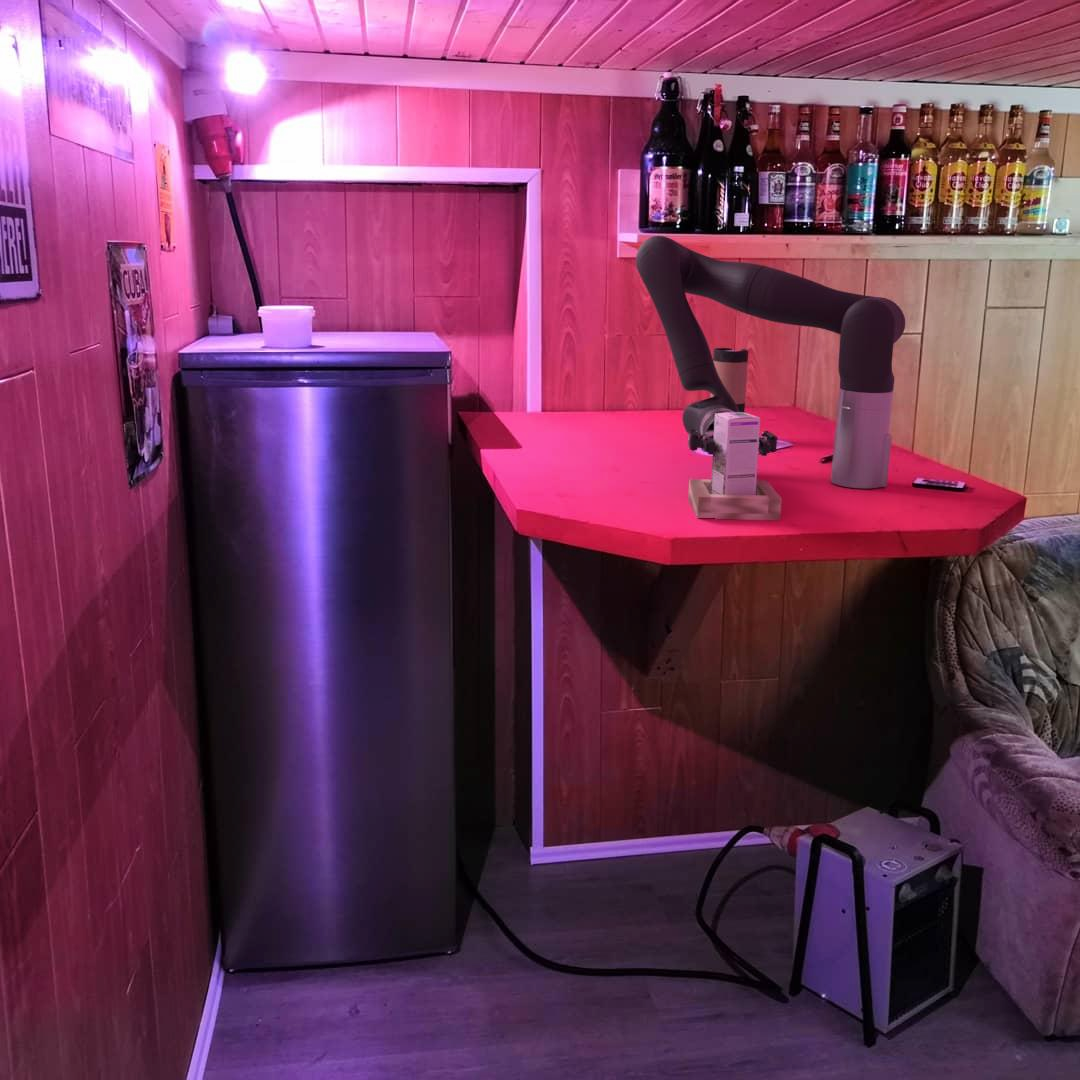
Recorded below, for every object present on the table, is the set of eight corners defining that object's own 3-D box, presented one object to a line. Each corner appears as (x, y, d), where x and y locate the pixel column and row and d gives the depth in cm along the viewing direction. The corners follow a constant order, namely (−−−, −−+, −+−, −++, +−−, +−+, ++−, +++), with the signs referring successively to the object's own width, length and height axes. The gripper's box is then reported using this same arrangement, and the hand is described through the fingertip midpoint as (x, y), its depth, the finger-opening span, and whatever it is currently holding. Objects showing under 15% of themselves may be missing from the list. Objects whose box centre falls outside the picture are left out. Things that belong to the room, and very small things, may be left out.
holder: (765, 501, 178) (766, 480, 177) (780, 520, 166) (781, 498, 165) (688, 499, 178) (689, 479, 177) (697, 518, 166) (698, 496, 165)
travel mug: (716, 444, 229) (722, 351, 224) (702, 438, 236) (707, 347, 231) (748, 443, 231) (755, 351, 226) (733, 437, 238) (739, 347, 233)
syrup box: (756, 506, 170) (763, 416, 166) (722, 507, 169) (728, 417, 165) (741, 497, 175) (747, 411, 171) (708, 499, 174) (713, 412, 170)
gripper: (683, 409, 183) (695, 424, 167) (766, 411, 183) (785, 426, 167) (681, 451, 185) (692, 471, 169) (762, 453, 185) (781, 472, 169)
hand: (738, 448), depth 168 cm, fingers open, 8 cm apart
